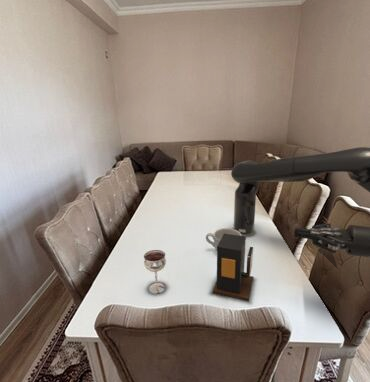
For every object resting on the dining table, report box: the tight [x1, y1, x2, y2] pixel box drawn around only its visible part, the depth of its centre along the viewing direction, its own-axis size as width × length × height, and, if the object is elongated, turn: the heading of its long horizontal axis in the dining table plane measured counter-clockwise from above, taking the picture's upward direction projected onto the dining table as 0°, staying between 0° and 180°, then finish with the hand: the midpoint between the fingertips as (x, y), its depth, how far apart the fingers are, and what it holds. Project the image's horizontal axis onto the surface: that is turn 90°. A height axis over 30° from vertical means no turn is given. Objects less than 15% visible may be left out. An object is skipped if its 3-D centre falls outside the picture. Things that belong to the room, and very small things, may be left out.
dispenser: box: [212, 233, 254, 302], centre depth 78 cm, size 11×11×16 cm
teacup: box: [205, 227, 242, 252], centre depth 100 cm, size 14×11×8 cm
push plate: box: [245, 246, 254, 278], centre depth 76 cm, size 6×1×7 cm, turn 159°
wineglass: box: [143, 249, 167, 294], centre depth 79 cm, size 7×7×12 cm
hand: (294, 232), depth 68 cm, fingers closed
